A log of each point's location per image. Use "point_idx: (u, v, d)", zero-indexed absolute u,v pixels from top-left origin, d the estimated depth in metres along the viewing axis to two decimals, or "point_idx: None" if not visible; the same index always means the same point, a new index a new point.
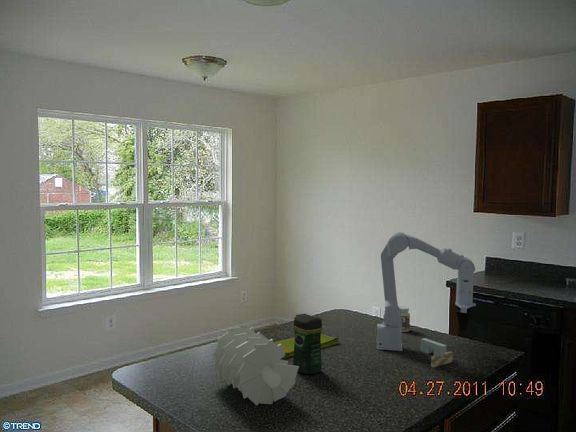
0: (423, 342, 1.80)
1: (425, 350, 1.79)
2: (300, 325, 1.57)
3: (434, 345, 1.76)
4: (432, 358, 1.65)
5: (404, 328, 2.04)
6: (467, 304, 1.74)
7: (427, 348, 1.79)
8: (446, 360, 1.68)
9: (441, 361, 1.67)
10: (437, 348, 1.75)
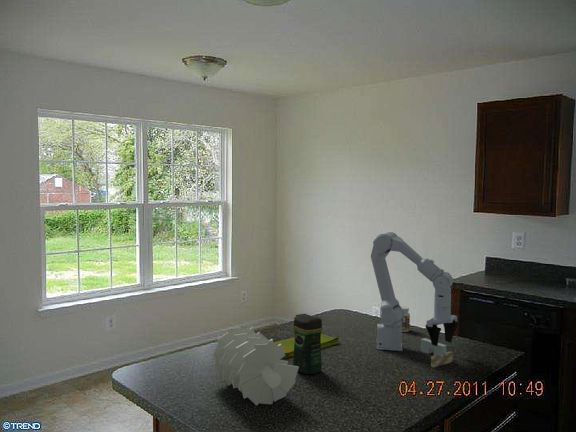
0: (423, 342, 1.80)
1: (425, 350, 1.79)
2: (300, 325, 1.57)
3: None
4: (432, 358, 1.65)
5: (404, 328, 2.04)
6: (440, 319, 1.72)
7: (427, 348, 1.79)
8: (446, 360, 1.68)
9: (441, 361, 1.67)
10: (437, 348, 1.75)
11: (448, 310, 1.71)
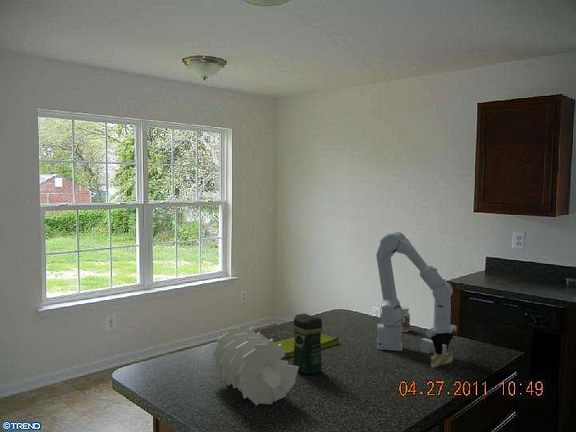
0: (423, 342, 1.80)
1: (425, 350, 1.79)
2: (300, 325, 1.57)
3: None
4: (432, 358, 1.65)
5: (404, 328, 2.04)
6: (439, 329, 1.72)
7: (427, 348, 1.79)
8: (446, 360, 1.68)
9: (441, 361, 1.67)
10: None
11: (448, 320, 1.72)
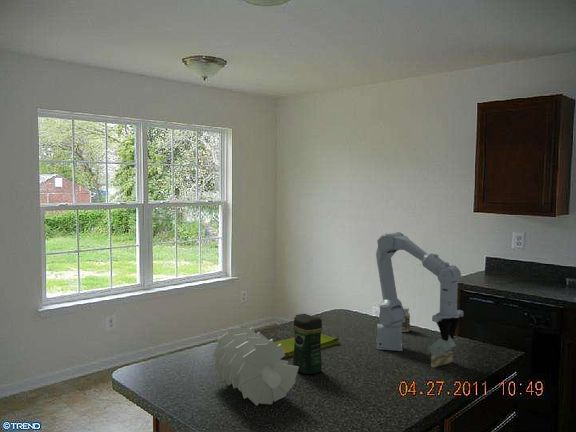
0: (431, 348, 1.73)
1: (437, 354, 1.71)
2: (300, 325, 1.57)
3: (439, 341, 1.70)
4: (432, 358, 1.65)
5: (404, 328, 2.04)
6: (446, 314, 1.65)
7: (437, 350, 1.71)
8: (446, 360, 1.68)
9: (441, 361, 1.67)
10: (443, 341, 1.69)
11: (454, 305, 1.65)
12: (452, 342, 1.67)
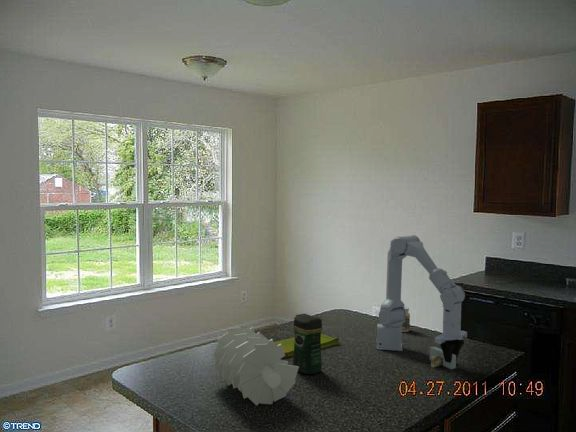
0: (432, 351, 1.70)
1: None
2: (300, 325, 1.57)
3: None
4: (432, 358, 1.65)
5: (404, 328, 2.04)
6: (449, 336, 1.62)
7: None
8: None
9: (441, 361, 1.67)
10: None
11: (458, 326, 1.61)
12: (454, 364, 1.64)
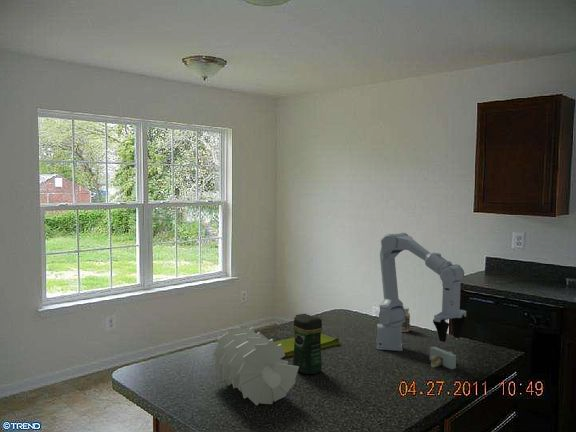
0: (432, 351, 1.71)
1: None
2: (300, 325, 1.57)
3: (443, 354, 1.66)
4: (432, 358, 1.65)
5: (404, 328, 2.04)
6: (448, 314, 1.62)
7: None
8: None
9: (441, 361, 1.67)
10: (446, 358, 1.65)
11: (457, 304, 1.62)
12: (454, 364, 1.64)
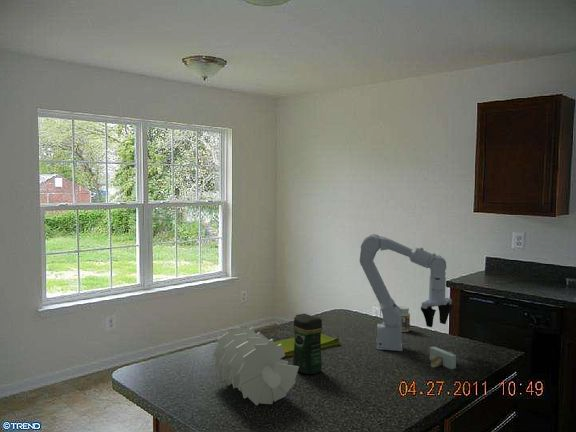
0: (432, 351, 1.71)
1: None
2: (300, 325, 1.57)
3: (443, 354, 1.66)
4: (432, 358, 1.65)
5: (404, 328, 2.04)
6: (434, 301, 1.76)
7: None
8: None
9: (441, 361, 1.67)
10: (446, 358, 1.65)
11: (443, 292, 1.76)
12: (454, 364, 1.64)
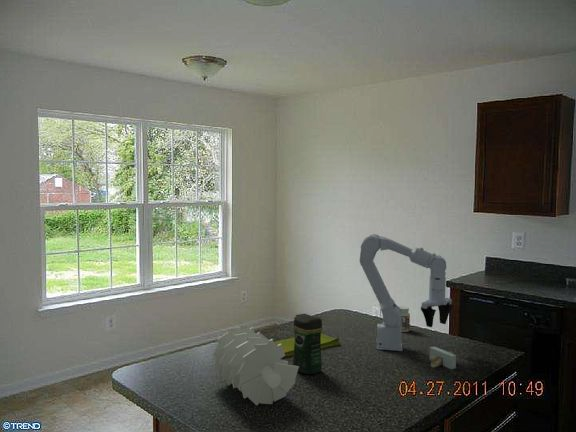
0: (432, 351, 1.71)
1: None
2: (300, 325, 1.57)
3: (443, 354, 1.66)
4: (432, 358, 1.65)
5: (404, 328, 2.04)
6: (434, 301, 1.76)
7: None
8: None
9: (441, 361, 1.67)
10: (446, 358, 1.65)
11: (443, 292, 1.76)
12: (454, 364, 1.64)
